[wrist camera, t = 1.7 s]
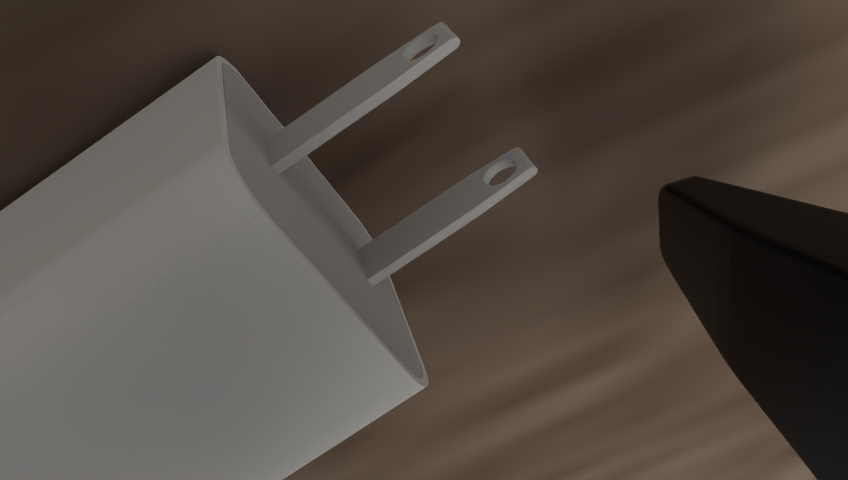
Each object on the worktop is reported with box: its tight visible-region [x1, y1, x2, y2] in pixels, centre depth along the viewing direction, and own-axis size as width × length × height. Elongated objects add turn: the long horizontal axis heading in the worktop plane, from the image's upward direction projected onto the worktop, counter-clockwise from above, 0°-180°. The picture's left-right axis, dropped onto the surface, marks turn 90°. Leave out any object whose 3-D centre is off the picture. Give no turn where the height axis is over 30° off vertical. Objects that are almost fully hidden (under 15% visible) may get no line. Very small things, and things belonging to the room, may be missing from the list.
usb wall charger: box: [0, 22, 537, 480], centre depth 10 cm, size 4×7×4 cm, turn 121°
